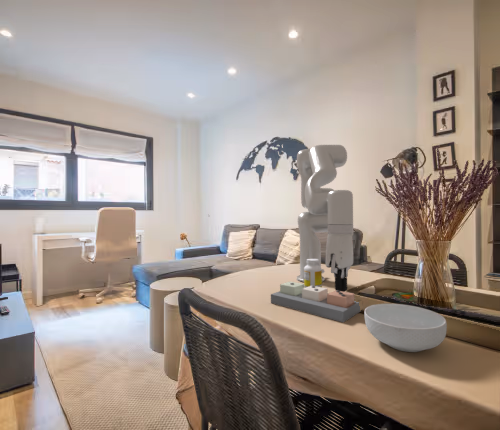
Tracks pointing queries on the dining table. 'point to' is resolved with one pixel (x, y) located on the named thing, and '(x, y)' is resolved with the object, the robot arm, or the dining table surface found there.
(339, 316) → the grey flat board
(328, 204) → the robot arm
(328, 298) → the pink block
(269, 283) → the dining table surface
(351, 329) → the dining table surface
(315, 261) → the supplement bottle
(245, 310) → the dining table surface
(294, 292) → the knob block
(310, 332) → the dining table surface
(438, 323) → the cereal bowl
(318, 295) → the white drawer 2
